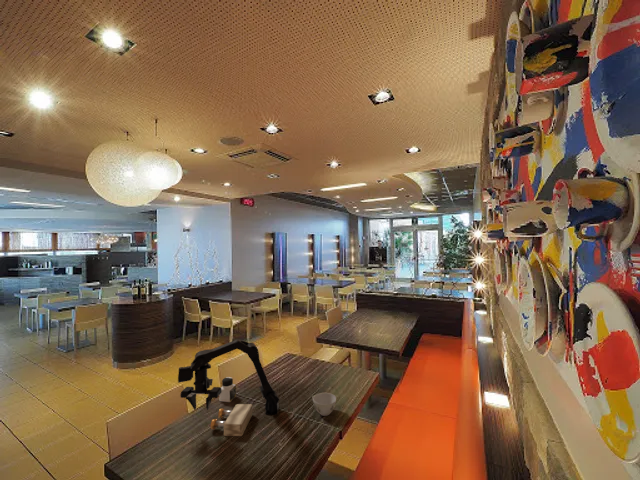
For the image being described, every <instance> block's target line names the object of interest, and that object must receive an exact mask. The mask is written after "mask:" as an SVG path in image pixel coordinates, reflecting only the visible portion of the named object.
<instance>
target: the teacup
mask: <svg viewBox="0 0 640 480" xmlns="http://www.w3.org/2000/svg"><path fill="white" fill-rule="evenodd" d="M311 399H312V400H311V401H312V402H313V406H314V409H315V410H316V412H318V414H319V415H321V416H324V417H327V416H329V415H330V414H331V413H332V412H333V411H334V409H335V406H336V402H337V397H336V395H335V394H332V393H331V392H320V393H316V394H315V395H312V397H311Z"/></svg>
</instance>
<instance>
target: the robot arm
mask: <svg viewBox="0 0 640 480" xmlns="http://www.w3.org/2000/svg"><path fill="white" fill-rule="evenodd" d="M234 350H235V351H236V350H238V351H241V352H243V353H244V354H247V356H248V358H249V359H250V360H251V362H252V364H253V366H254V369H255V372H256V373H257V374H256V375H257V377H258V378H259V382H260V386H259V387H258V388H259V390H260V393H261V396H262V398H263V399H265V403H264V406H265V407H264V411H265V413H264V414H265V415H278V413H279V411H280V410H279V409H280V406H279V401H280V397H279V396H278V393H277V391H276V390H275V389H274V388H273V387H272V385H271V383H270V381H268V378H267V376H266V373H265V371H264V367H263V365H262V362H261V360H260V353H259V348H258V347H257V345H256V344H255V343H254V342H248V341H244V340H241V339H240V338H235V339H234V340H232V341H230V342H229V341H228V342H227V343H225V344H222V345H219V346H217V347H215V348H211V349H203V350H199V351H197V352H196V353H195V355H194V359H193V360H192V361H191V363H190V365H188V366H180V367H178V375H177V383H178V384H179V383H185V382H190V381H192V380H193V378H194V381H193V385H194V387H193V386H185V388H183V390H182V391H180V395H179V397H180V398H181V399H184V398H185V400H187V401H188V402H189V403H190V405H191V407H192V408H193V410H194V411H195V410H196V409H197V395H207V397H206V398H205V405H206V406H205V407H206V410H207V411H208V410H210V405H211V402H212V400H213V399H217V398H218V397H219V395H220V393H221V392H222V390H221V387H220V386H213V378H209V377H208V369H211V368H212V365H211V364H210V362H211V361H212V360H214V359H215V358H218V357H220V356H222V355H225V354H227V353H231V352H233V351H234ZM210 386H213V387H212V388H211V389H209V388H210Z"/></svg>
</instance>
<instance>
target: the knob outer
mask: <svg viewBox="0 0 640 480" xmlns="http://www.w3.org/2000/svg"><path fill="white" fill-rule="evenodd" d="M225 421H226V420H218V419H217V418H212V419H211V421H210V426H209V427H210V430H213V431H214V430H216V429H218V428H220V429H221V428H222V429H224V423H225Z"/></svg>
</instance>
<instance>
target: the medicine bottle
mask: <svg viewBox="0 0 640 480" xmlns="http://www.w3.org/2000/svg"><path fill="white" fill-rule="evenodd" d="M233 380H234V378H233V377H232V376H231V377H230V376H226V377H224V378H223V379H222V380H221V381H222V382H221V384H222V385H221V387H220V388H221V390H222V392H221V393H220V395H219V396H218V397H219V400H218V401H219V402H223V403H224V402H225V403H231V402H232V401H233V400H234V399H235V398H236V396H237V385H236V384H234V382H233Z"/></svg>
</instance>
